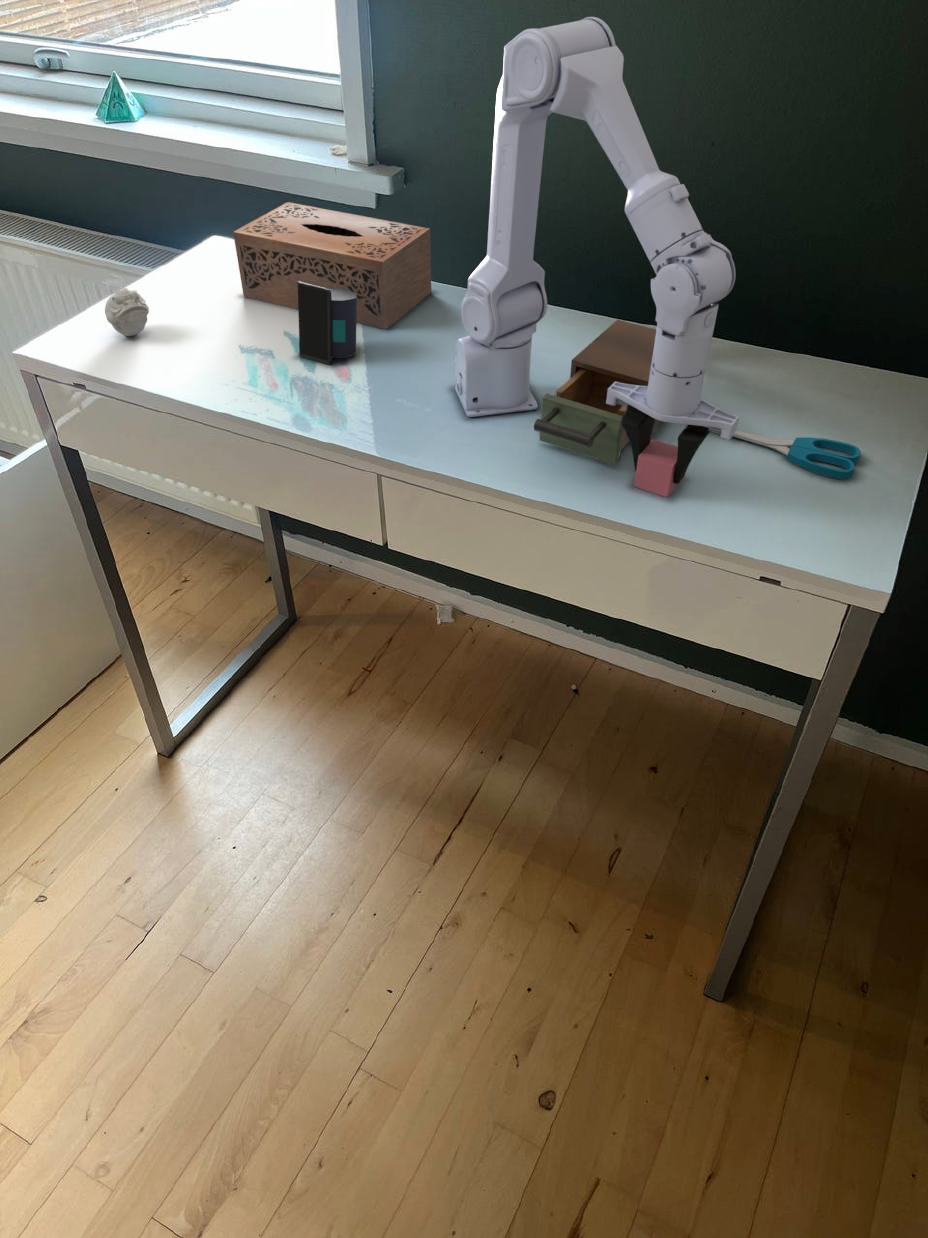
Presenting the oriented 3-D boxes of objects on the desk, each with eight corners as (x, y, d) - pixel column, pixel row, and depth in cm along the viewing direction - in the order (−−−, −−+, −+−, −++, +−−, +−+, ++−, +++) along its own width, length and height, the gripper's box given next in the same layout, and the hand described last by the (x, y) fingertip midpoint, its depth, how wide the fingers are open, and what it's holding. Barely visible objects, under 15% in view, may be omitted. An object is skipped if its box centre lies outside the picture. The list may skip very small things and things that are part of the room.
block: (667, 497, 105) (673, 466, 102) (633, 486, 107) (638, 455, 104) (681, 480, 108) (687, 449, 105) (648, 469, 110) (653, 438, 107)
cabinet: (648, 439, 114) (657, 383, 109) (566, 414, 119) (571, 359, 114) (688, 393, 123) (698, 340, 118) (610, 371, 127) (617, 319, 122)
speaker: (321, 369, 127) (317, 293, 120) (299, 356, 130) (294, 282, 124) (366, 358, 131) (365, 284, 125) (343, 345, 134) (341, 273, 128)
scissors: (851, 474, 107) (685, 432, 114) (849, 481, 107) (684, 438, 115) (863, 447, 111) (703, 407, 118) (861, 454, 112) (701, 414, 119)
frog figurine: (123, 349, 132) (110, 302, 127) (103, 332, 136) (90, 285, 131) (162, 337, 134) (151, 290, 130) (142, 320, 138) (130, 274, 134)
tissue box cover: (431, 292, 146) (429, 228, 139) (386, 329, 136) (382, 262, 130) (295, 263, 154) (287, 201, 147) (243, 296, 145) (233, 231, 138)
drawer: (596, 485, 106) (602, 440, 102) (519, 459, 110) (521, 415, 106) (656, 418, 116) (663, 376, 112) (584, 397, 120) (588, 355, 116)
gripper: (757, 367, 97) (731, 475, 106) (631, 333, 102) (617, 439, 112) (734, 395, 92) (709, 505, 102) (603, 359, 98) (591, 466, 107)
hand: (659, 473), depth 106 cm, fingers closed on block, 4 cm apart
